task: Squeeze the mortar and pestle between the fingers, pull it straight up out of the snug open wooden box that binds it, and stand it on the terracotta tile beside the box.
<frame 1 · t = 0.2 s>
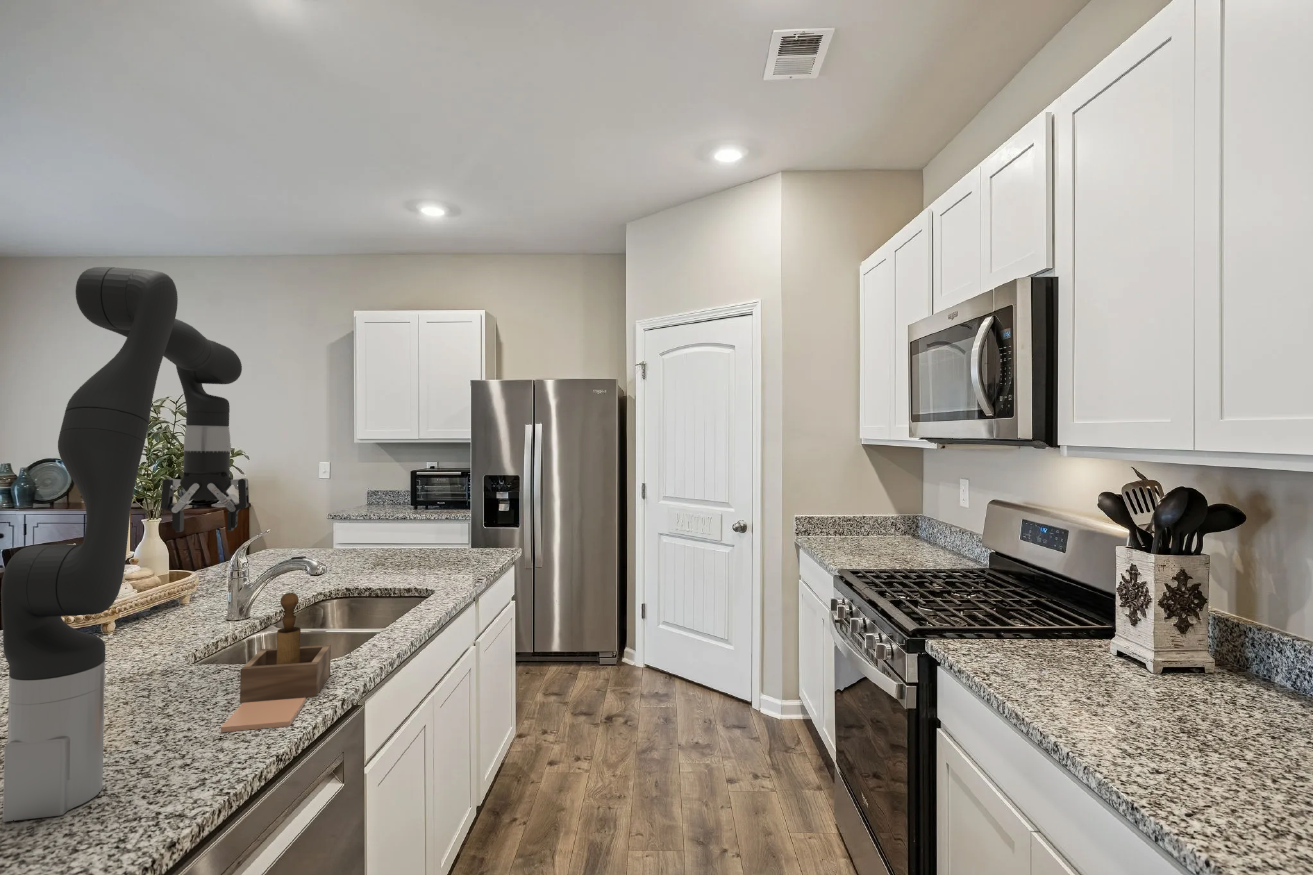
hand: (205, 531, 127), 29 cm above the countertop, tool pointing down, fingers open, 8 cm apart
open wooden box: (287, 687, 123), on the countertop
mortar and pestle: (287, 689, 123), resting in open wooden box
terracotta tile: (265, 716, 110), on the countertop
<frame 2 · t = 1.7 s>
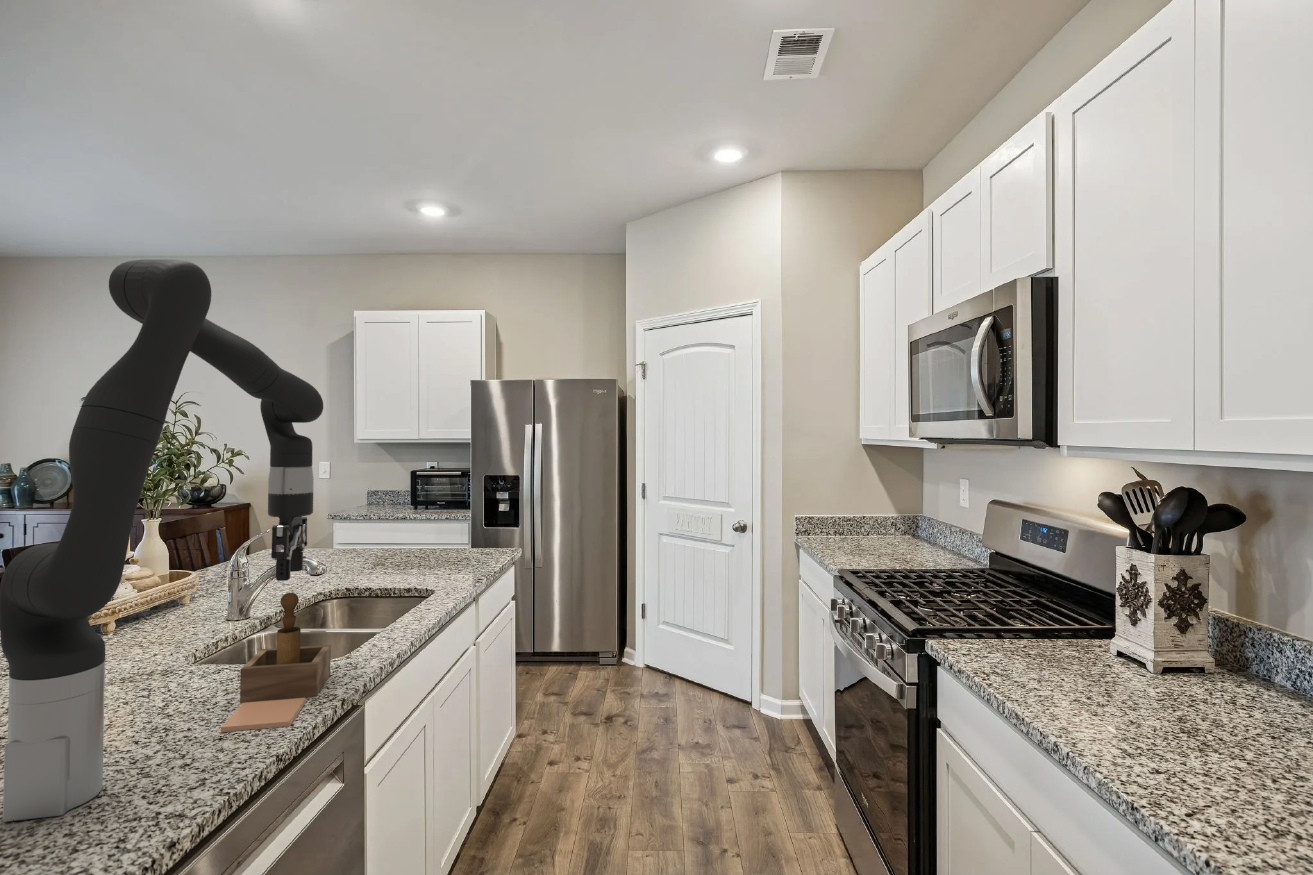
hand: (289, 575, 123), 21 cm above the countertop, tool pointing down, fingers open, 8 cm apart
nothing on the countertop moved.
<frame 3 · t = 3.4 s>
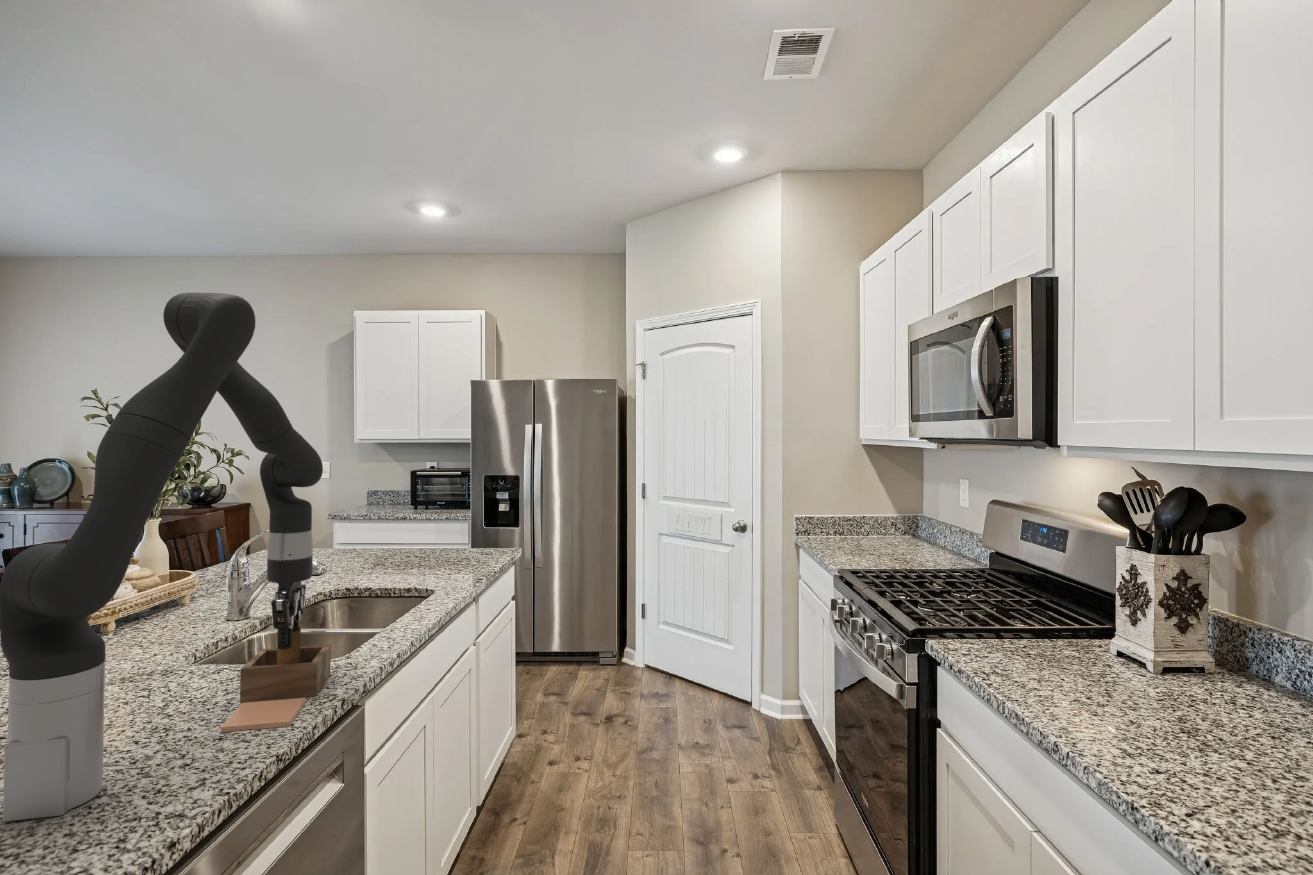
hand: (288, 644, 123), 8 cm above the countertop, tool pointing down, fingers closed on mortar and pestle, 4 cm apart
mortar and pestle: (287, 688, 123), resting in open wooden box, touching gripper
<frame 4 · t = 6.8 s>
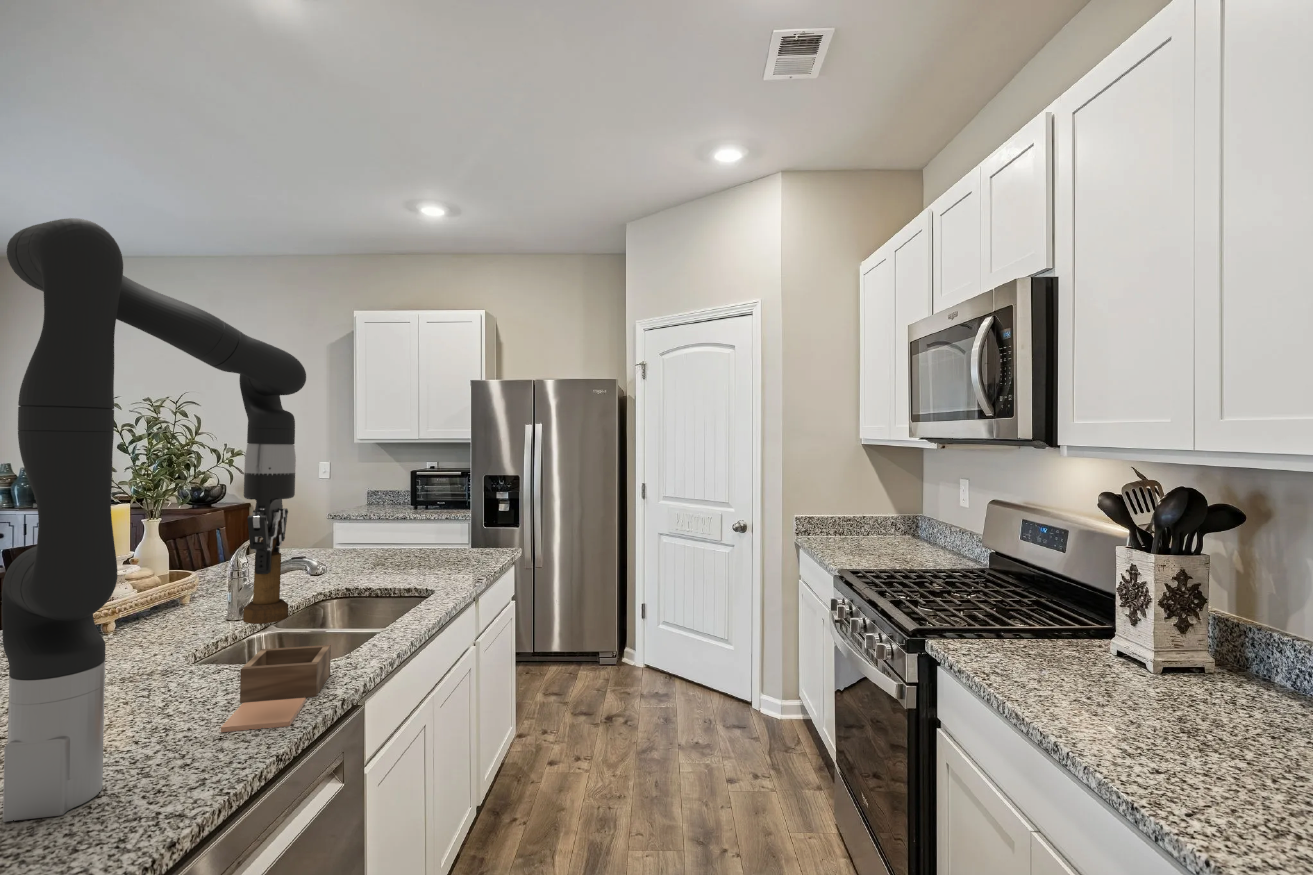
hand: (267, 570, 110), 25 cm above the countertop, tool pointing down, fingers closed on mortar and pestle, 4 cm apart
mortar and pestle: (265, 620, 110), point 16 cm above the countertop, touching gripper
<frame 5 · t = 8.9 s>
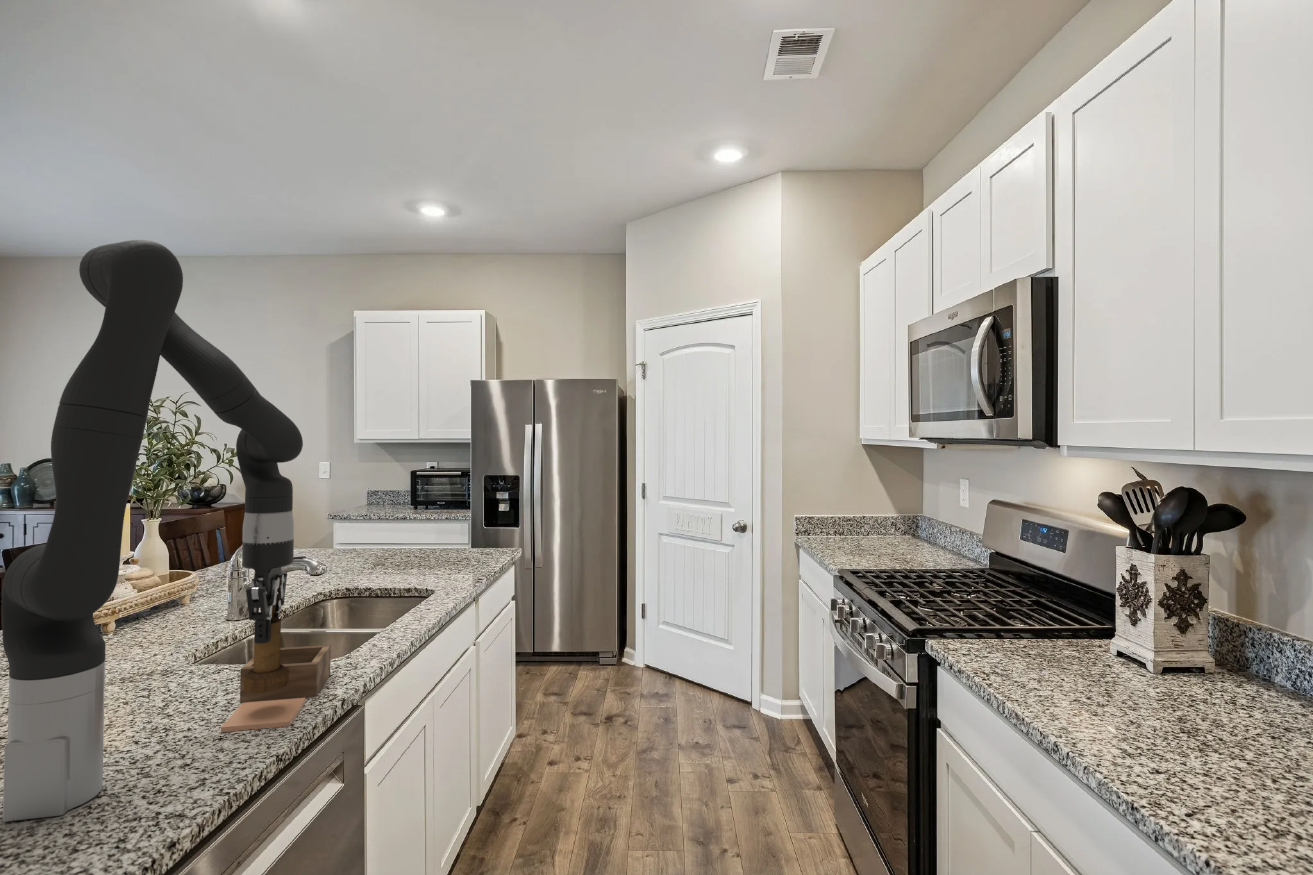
hand: (267, 637, 110), 13 cm above the countertop, tool pointing down, fingers closed on mortar and pestle, 4 cm apart
mortar and pestle: (266, 687, 110), point 5 cm above the countertop, touching gripper
when the fingers open (10 cm above the countertop, at t = 10.3 s): mortar and pestle drops 1 cm, resting on terracotta tile.
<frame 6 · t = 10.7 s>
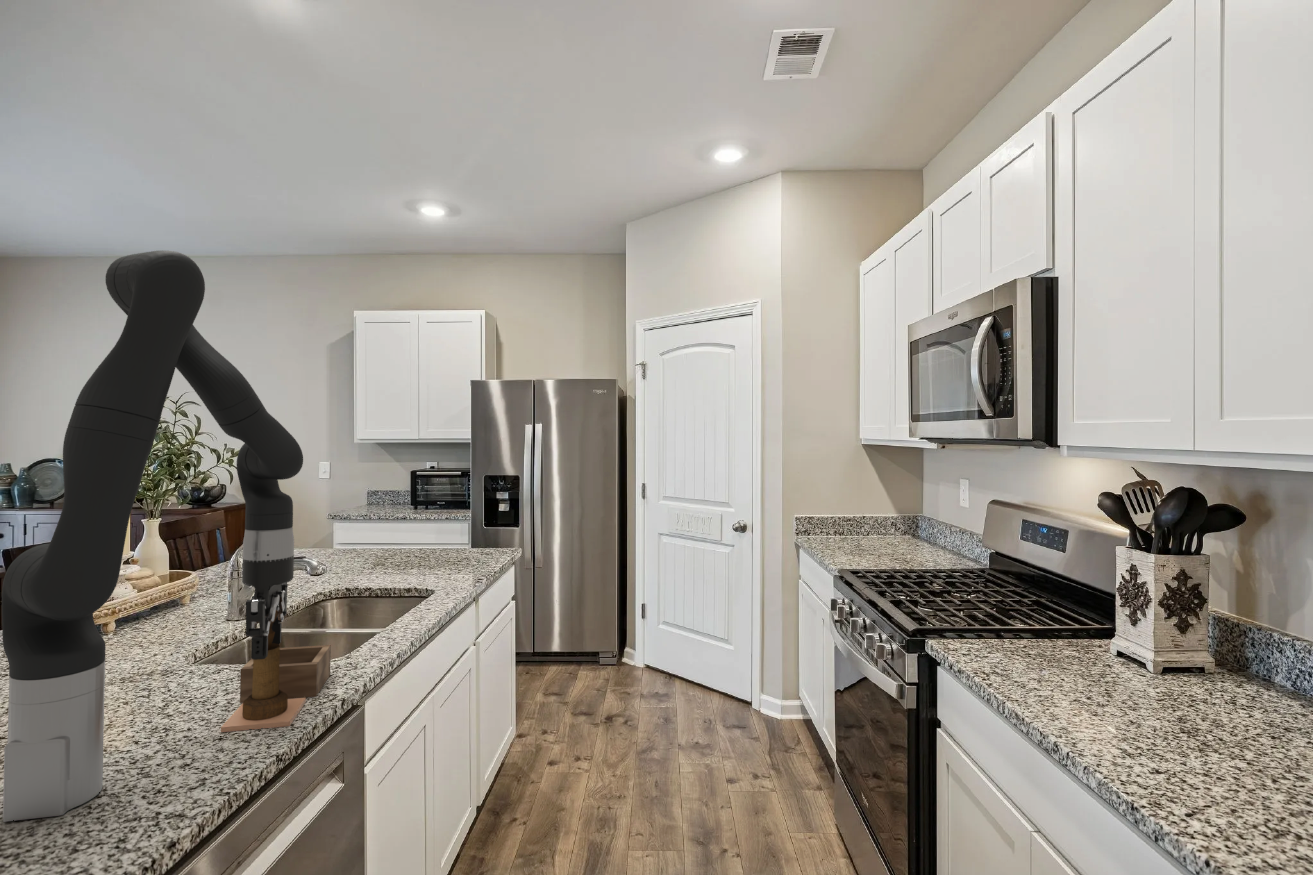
hand: (266, 651, 110), 11 cm above the countertop, tool pointing down, fingers open, 7 cm apart
mortar and pestle: (265, 713, 110), point 1 cm above the countertop, touching terracotta tile
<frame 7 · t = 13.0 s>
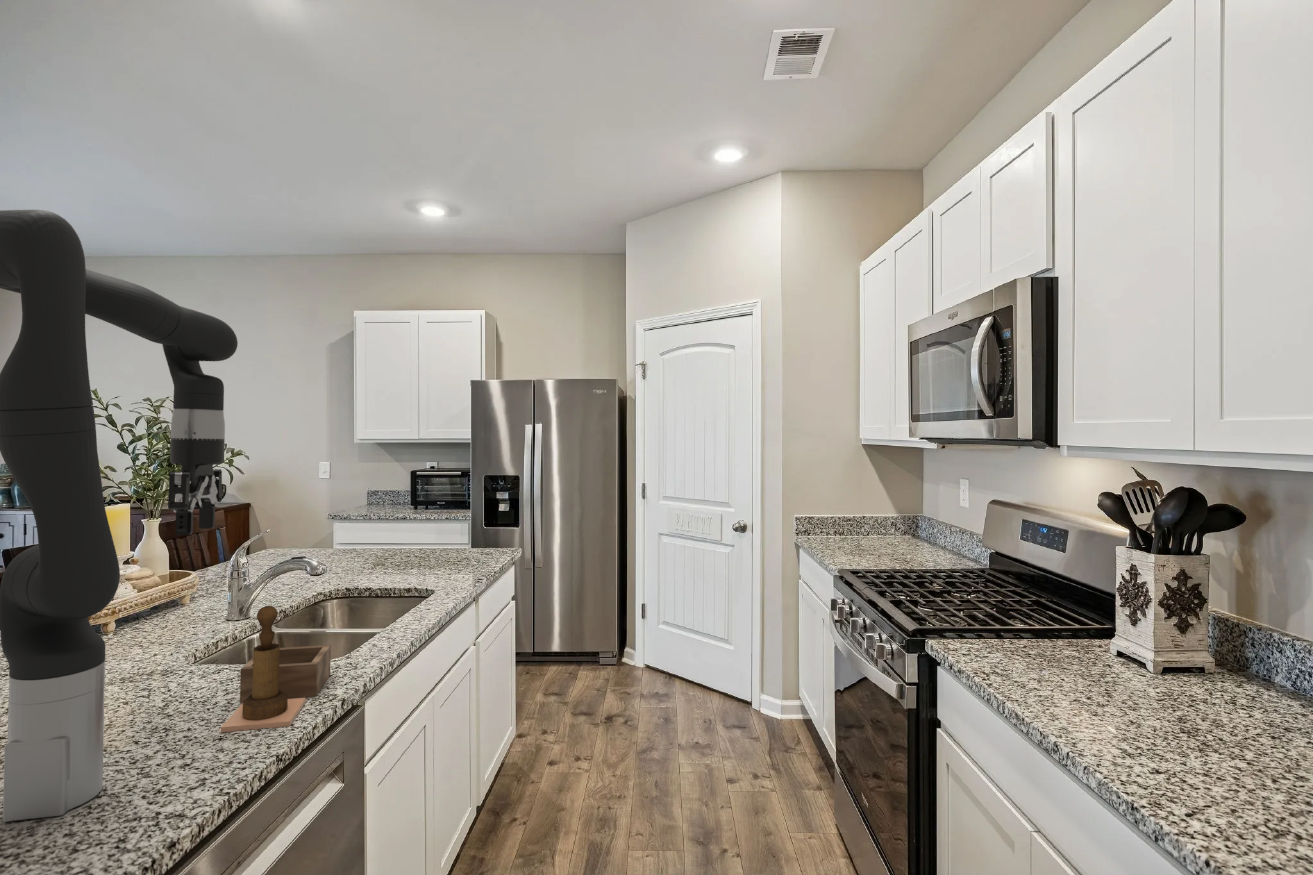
hand: (195, 531, 110), 31 cm above the countertop, tool pointing down, fingers open, 8 cm apart
nothing on the countertop moved.
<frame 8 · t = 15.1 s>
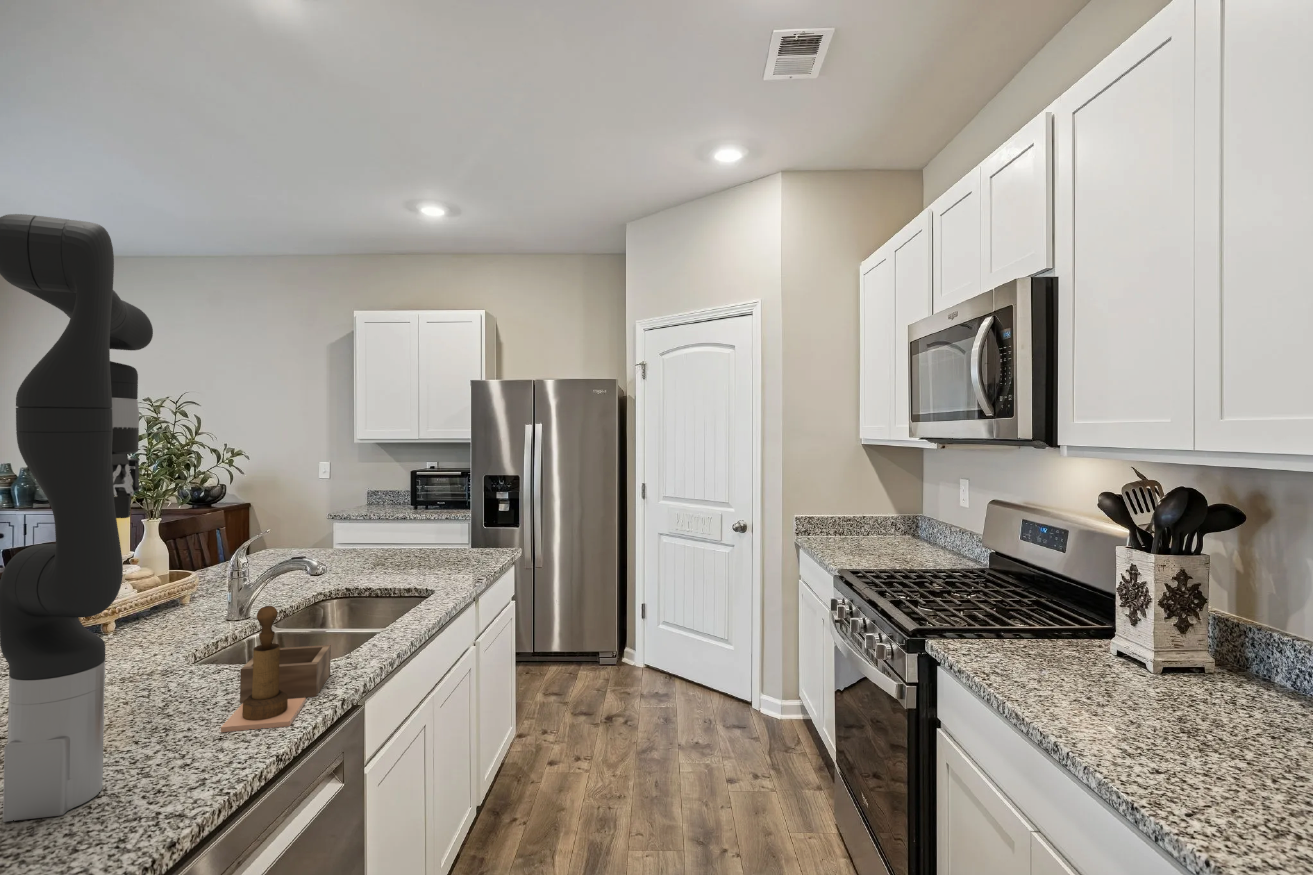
hand: (108, 520, 109), 33 cm above the countertop, tool pointing down, fingers open, 8 cm apart
nothing on the countertop moved.
at the end: mortar and pestle inside the target area on the terracotta tile (0.2 cm from its centre), point 0.6 cm above the terracotta tile's base; mortar and pestle tilted 0°; the gripper is holding nothing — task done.
